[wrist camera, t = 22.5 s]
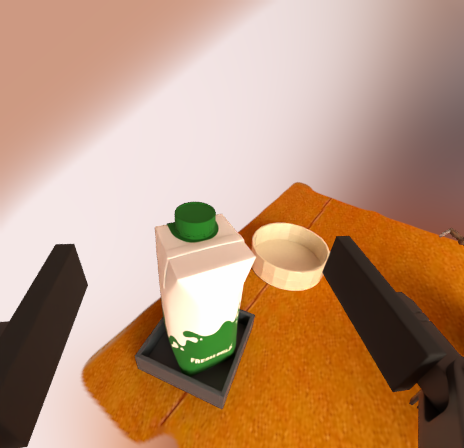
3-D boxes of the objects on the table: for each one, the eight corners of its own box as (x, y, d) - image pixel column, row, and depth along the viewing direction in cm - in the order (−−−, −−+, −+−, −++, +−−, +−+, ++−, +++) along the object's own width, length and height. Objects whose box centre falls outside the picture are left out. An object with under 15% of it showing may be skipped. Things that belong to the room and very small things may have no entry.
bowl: (239, 274, 47) (241, 256, 45) (260, 232, 58) (263, 216, 56) (318, 301, 44) (326, 283, 41) (325, 251, 55) (332, 234, 52)
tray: (137, 368, 33) (134, 355, 31) (184, 300, 42) (183, 287, 40) (222, 409, 30) (224, 398, 28) (252, 327, 39) (255, 314, 37)
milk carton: (216, 308, 40) (225, 193, 29) (245, 361, 34) (270, 242, 23) (160, 328, 37) (144, 207, 25) (179, 392, 30) (170, 269, 19)
